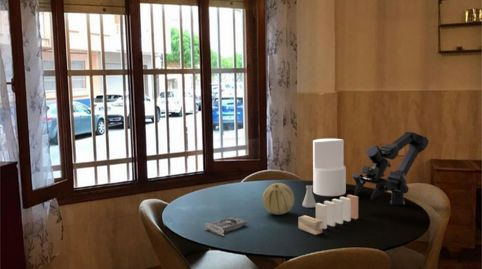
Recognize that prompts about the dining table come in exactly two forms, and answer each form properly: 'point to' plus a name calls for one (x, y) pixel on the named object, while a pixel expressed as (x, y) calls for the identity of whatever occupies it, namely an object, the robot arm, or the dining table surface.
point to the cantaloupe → (278, 198)
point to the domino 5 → (354, 206)
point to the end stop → (310, 224)
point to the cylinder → (329, 167)
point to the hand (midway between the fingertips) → (363, 196)
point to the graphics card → (225, 225)
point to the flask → (309, 198)
